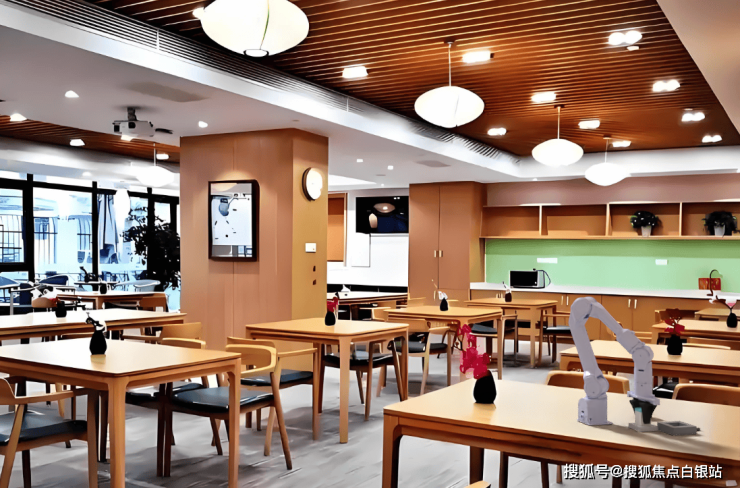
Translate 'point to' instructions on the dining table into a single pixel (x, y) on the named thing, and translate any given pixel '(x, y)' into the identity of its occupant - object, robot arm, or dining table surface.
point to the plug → (639, 418)
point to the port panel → (677, 428)
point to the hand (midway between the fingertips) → (643, 422)
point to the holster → (643, 427)
